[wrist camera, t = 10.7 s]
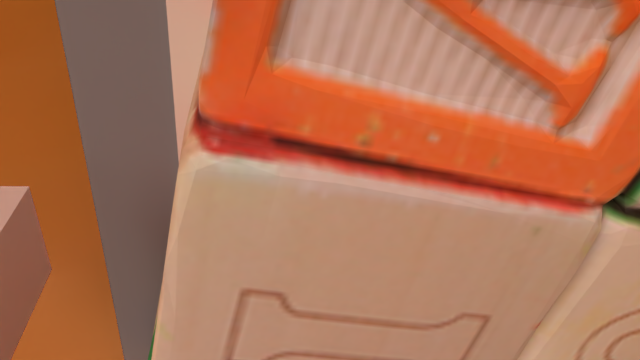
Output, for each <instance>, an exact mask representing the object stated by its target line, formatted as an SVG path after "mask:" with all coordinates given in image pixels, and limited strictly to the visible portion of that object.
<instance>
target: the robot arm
mask: <svg viewBox="0 0 640 360" xmlns="http://www.w3.org/2000/svg"><path fill="white" fill-rule="evenodd" d="M51 270H52V268H51V265H50V261H49V257H48V254H47V250H46V247H45V243H44V239H43V236H42V232H41V228H40V225H39V221H38V217H37V214H36V210H35V206H34V203H33V199H32V195H31V192H30V188H29V186H0V360H11V358H12V356H13V354H14V351H15V349H16V347H17V345H18V343H19V340H20V338H21V336H22V334H23V332H24V329H25V327H26V325H27V323H28V321H29V318H30V316H31V314H32V312H33V310H34V307H35V305H36V303H37V301H38V299H39V296H40V294H41V292H42V290H43V288H44V285H45V283H46V281H47V279H48V277H49V274H50V272H51Z"/></svg>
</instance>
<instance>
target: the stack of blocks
mask: <svg viewBox="0 0 640 360" xmlns="http://www.w3.org/2000/svg"><path fill="white" fill-rule="evenodd" d="M148 360H640V0H213V3H212V9H211V14H210V20H209V26H208V31H207V37H206V43H205V48H204V52H203V56H202V60H201V64H200V69H199V73H198V77H197V81H196V85H195V89H194V93H193V97H192V101H191V105H190V109H189V113H188V117H187V121H186V125H185V129H184V135H183V142H182V148H181V154H180V161H179V167H178V173H177V180H176V186H175V193H174V200H173V207H172V214H171V221H170V228H169V236H168V243H167V250H166V258H165V265H164V272H163V280H162V285H161V291H160V297H159V302H158V308H157V314H156V320H155V326H154V332H153V338H152V343H151V347H150V352H149V356H148Z"/></svg>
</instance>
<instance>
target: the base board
mask: <svg viewBox="0 0 640 360" xmlns="http://www.w3.org/2000/svg"><path fill="white" fill-rule="evenodd" d="M212 3H213V0H55V5H56V10H57V15H58V20H59V25H60V31H61V36H62V41H63V46H64V51H65V56H66V61H67V67H68V72H69V77H70V82H71V87H72V92H73V97H74V103H75V108H76V113H77V118H78V123H79V128H80V133H81V139H82V144H83V149H84V154H85V159H86V164H87V169H88V175H89V180H90V185H91V190H92V195H93V200H94V205H95V211H96V216H97V221H98V226H99V231H100V236H101V241H102V246H103V252H104V257H105V262H106V267H107V272H108V277H109V282H110V288H111V293H112V298H113V303H114V308H115V313H116V318H117V324H118V329H119V334H120V339H121V344H122V349H123V354H124V360H148V356H149V352H150V347H151V343H152V338H153V332H154V326H155V320H156V314H157V308H158V302H159V297H160V291H161V285H162V280H163V272H164V265H165V258H166V250H167V243H168V236H169V228H170V221H171V214H172V207H173V200H174V193H175V186H176V180H177V173H178V167H179V161H180V154H181V148H182V142H183V135H184V129H185V125H186V121H187V117H188V113H189V109H190V105H191V101H192V97H193V93H194V89H195V85H196V81H197V77H198V73H199V69H200V64H201V60H202V56H203V52H204V48H205V43H206V37H207V31H208V26H209V20H210V14H211V9H212Z"/></svg>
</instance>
